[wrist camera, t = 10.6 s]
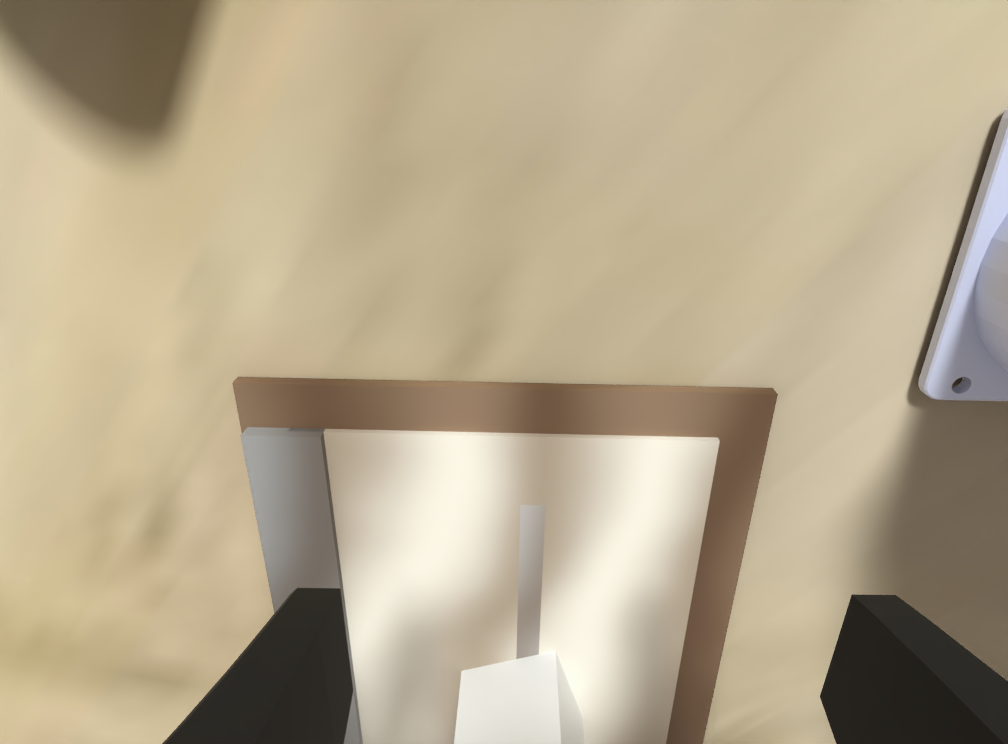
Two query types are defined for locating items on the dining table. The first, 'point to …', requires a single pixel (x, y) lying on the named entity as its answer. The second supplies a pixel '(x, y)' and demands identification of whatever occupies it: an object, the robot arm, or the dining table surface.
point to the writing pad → (512, 537)
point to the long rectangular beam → (518, 704)
